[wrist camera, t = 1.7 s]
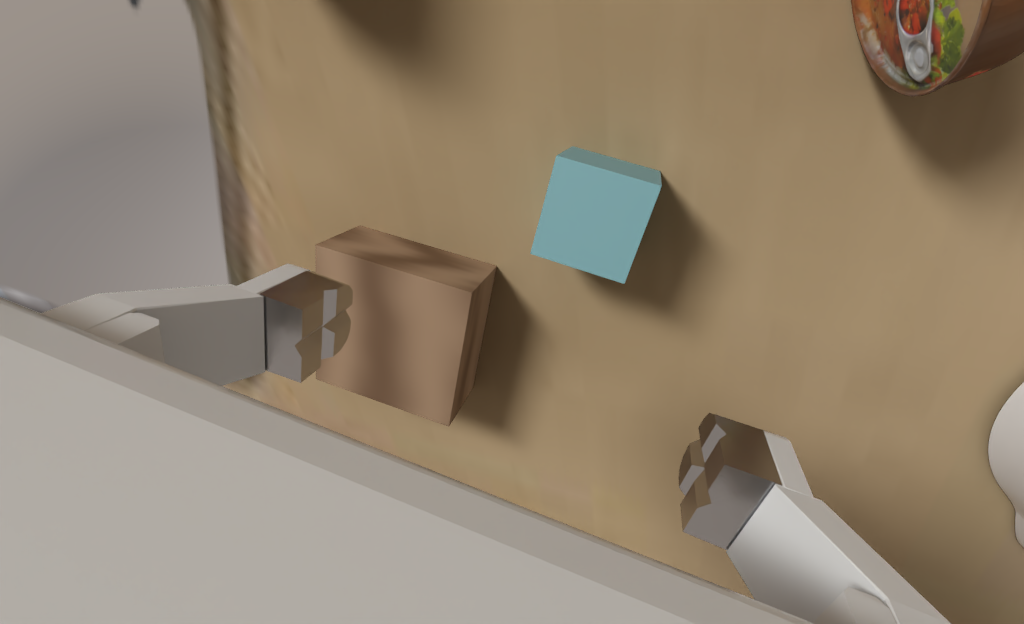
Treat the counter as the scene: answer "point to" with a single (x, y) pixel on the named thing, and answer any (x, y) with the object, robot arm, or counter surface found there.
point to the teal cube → (595, 212)
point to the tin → (937, 39)
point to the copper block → (407, 321)
